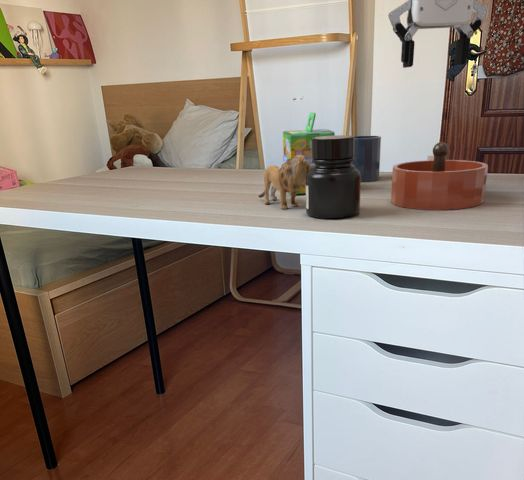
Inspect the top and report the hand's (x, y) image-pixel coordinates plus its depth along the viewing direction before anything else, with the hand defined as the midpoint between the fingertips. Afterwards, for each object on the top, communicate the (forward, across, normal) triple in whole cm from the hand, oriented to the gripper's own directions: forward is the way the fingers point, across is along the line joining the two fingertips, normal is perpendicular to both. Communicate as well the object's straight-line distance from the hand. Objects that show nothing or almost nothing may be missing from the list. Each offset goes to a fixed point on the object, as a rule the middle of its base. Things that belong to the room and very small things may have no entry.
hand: (433, 65), depth 94 cm
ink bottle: (+22, -22, -15) cm, 34 cm away
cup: (+22, -7, +19) cm, 30 cm away
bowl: (+22, -1, -7) cm, 23 cm away
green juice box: (+22, -21, +10) cm, 32 cm away
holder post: (+22, -2, -10) cm, 24 cm away
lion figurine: (+22, -28, -4) cm, 36 cm away
